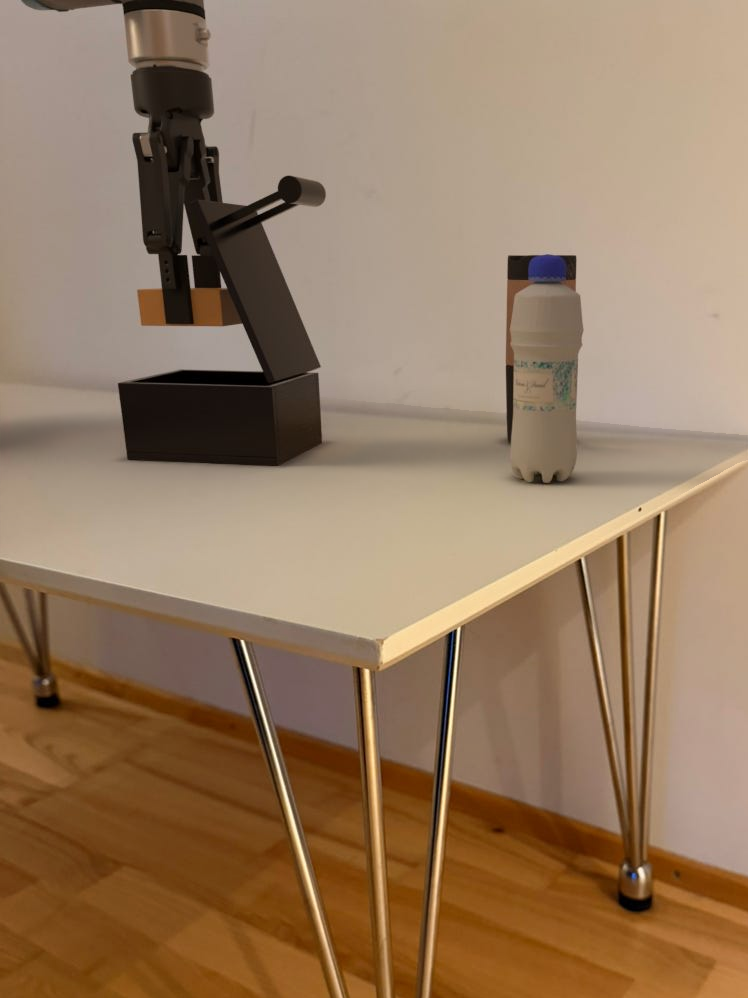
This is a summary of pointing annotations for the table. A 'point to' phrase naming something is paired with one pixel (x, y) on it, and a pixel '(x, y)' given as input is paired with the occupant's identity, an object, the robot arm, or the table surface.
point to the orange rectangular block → (206, 307)
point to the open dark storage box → (220, 417)
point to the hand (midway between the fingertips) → (196, 321)
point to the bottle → (545, 372)
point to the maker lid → (262, 275)
